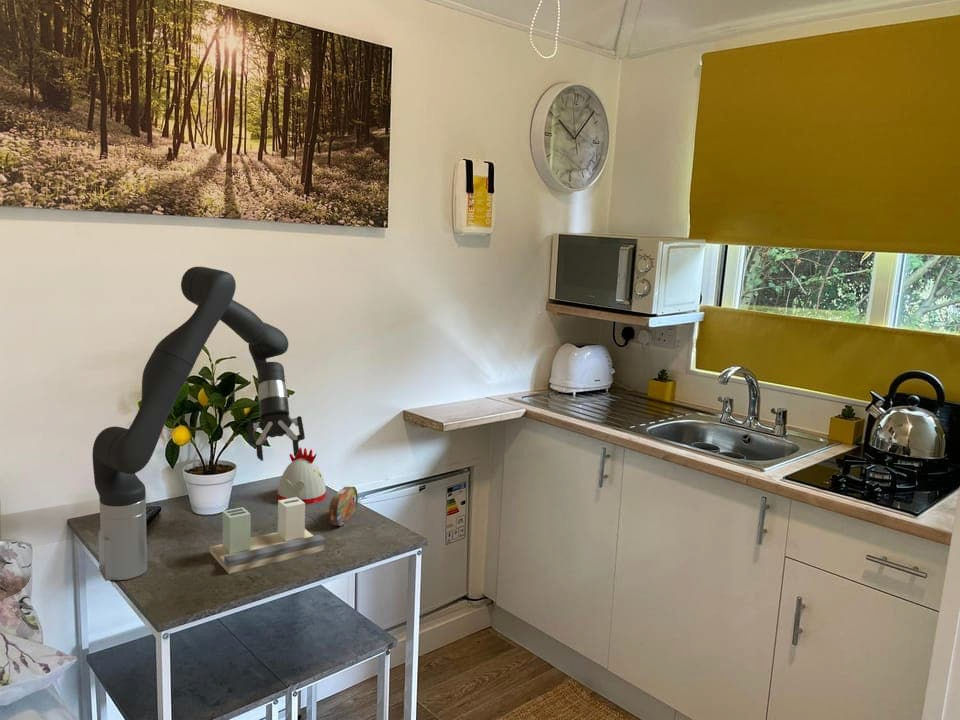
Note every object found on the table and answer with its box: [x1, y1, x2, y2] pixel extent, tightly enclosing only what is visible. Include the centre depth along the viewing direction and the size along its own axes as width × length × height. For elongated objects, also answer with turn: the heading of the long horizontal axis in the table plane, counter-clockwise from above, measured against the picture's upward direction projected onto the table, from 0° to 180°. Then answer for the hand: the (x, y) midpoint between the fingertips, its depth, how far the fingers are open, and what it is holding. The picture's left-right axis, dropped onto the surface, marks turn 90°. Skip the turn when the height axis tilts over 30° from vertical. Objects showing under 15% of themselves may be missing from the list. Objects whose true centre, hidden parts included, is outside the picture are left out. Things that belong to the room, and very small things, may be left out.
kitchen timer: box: [277, 446, 327, 505], centre depth 215 cm, size 14×14×15 cm
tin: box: [328, 486, 359, 527], centre depth 200 cm, size 15×3×8 cm, turn 168°
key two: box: [222, 506, 252, 554], centre depth 175 cm, size 5×5×9 cm
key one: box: [277, 497, 306, 541], centre depth 184 cm, size 5×5×9 cm
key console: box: [209, 528, 326, 575], centre depth 178 cm, size 24×13×3 cm, turn 128°
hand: (278, 457), depth 190 cm, fingers open, 8 cm apart
